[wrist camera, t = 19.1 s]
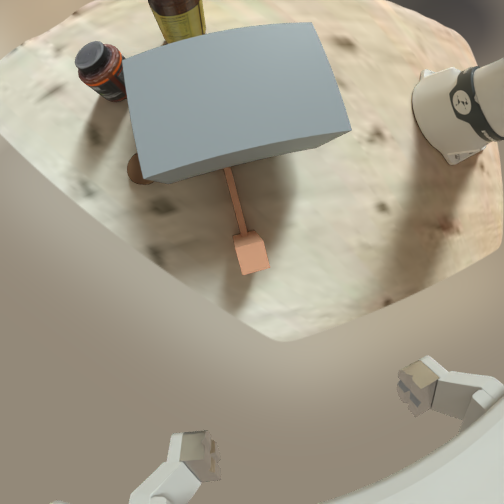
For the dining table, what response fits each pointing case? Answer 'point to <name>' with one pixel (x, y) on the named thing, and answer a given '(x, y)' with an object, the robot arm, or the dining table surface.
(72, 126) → the dining table surface
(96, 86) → the supplement bottle
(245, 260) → the square headed mallet
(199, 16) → the sauce bottle
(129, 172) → the brown round piece
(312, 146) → the grey block
